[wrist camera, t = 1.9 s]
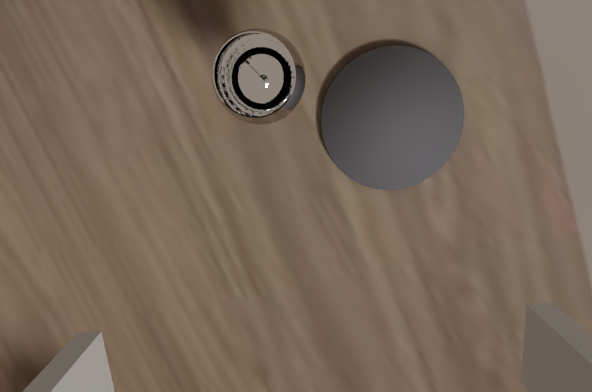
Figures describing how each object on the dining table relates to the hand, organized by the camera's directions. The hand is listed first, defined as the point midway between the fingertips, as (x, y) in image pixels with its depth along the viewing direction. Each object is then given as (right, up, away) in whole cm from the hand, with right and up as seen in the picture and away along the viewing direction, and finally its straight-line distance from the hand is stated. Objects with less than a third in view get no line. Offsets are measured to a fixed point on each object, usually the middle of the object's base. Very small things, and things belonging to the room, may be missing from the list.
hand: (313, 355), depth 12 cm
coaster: (+8, +11, +22) cm, 26 cm away
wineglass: (-3, +15, +22) cm, 26 cm away
